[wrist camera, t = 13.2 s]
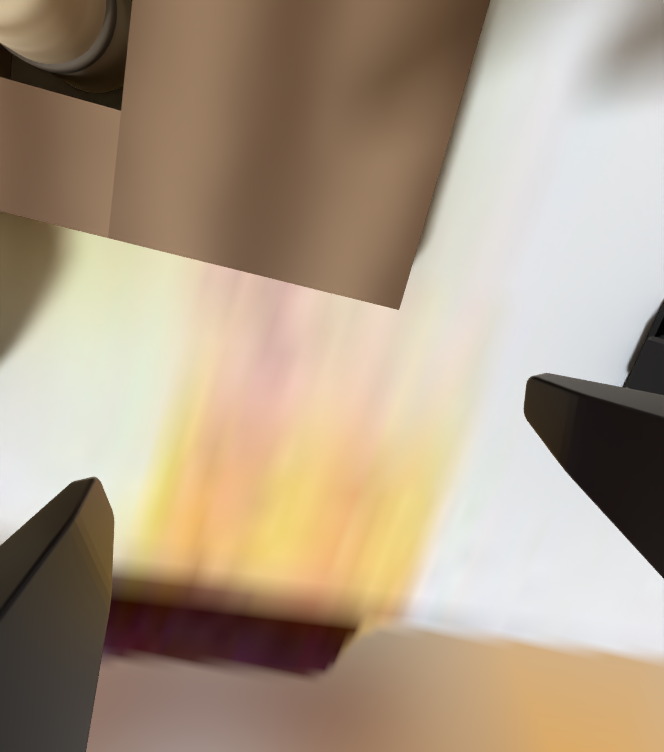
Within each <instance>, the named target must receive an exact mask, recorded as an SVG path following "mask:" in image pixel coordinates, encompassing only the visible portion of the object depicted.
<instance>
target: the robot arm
mask: <svg viewBox="0 0 664 752" xmlns="http://www.w3.org/2000/svg"><path fill="white" fill-rule="evenodd" d="M524 414H525V417H526V419H527V421H528V422H529V423H530V425H531V426H532V427H533V429H534V430H535V431H536V433H537V434H538V435H539V437H540V438H541V439H542V441H543V442H544V443H545V445H546V446H547V447H548V449H549V450H550V452H551V453H552V454H553V456H554V457H555V458H556V460H557V461H558V462H559V463H560V465H561V466H562V467H563V469H564V470H565V471H566V472H567V473H568V474H569V476H570V477H571V478H572V479H573V480H574V481H575V482H576V483H577V485H578V486H579V487H580V488H581V489H582V490H583V491H584V492H585V493H586V494H587V495H588V497H589V498H590V499H591V500H592V501H593V502H594V503H595V504H596V505H597V506H598V507H599V509H600V510H601V511H602V512H603V513H604V514H605V515H606V516H607V517H608V518H609V519H610V521H611V522H612V523H613V524H614V525H615V526H616V527H617V528H618V529H619V530H620V531H621V533H622V534H623V535H624V536H625V537H626V538H627V539H628V540H629V541H630V542H631V543H632V545H633V546H634V547H635V548H636V549H637V550H638V551H639V552H640V553H641V554H642V556H643V557H644V558H645V559H646V560H647V561H648V562H649V563H650V564H651V565H652V566H653V568H654V569H655V570H656V571H657V572H658V573H659V574H660V575H661V576H662V577H663V578H664V304H663V305H662V307H661V309H660V311H659V313H658V315H657V317H656V319H655V322H654V324H653V326H652V328H651V330H650V332H649V335H648V337H647V339H646V341H645V343H644V345H643V348H642V350H641V352H640V354H639V356H638V358H637V361H636V363H635V365H634V367H633V369H632V371H631V373H630V376H629V378H628V380H627V382H626V384H625V386H624V388H623V387H618V386H613V385H607V384H602V383H597V382H592V381H587V380H581V379H576V378H571V377H566V376H561V375H555V374H550V373H544V374H539V375H535V376H532V377H530V378H529V379H528V381H527V384H526V392H525V401H524ZM113 542H114V515H113V511H112V508H111V506H110V503H109V501H108V499H107V496H106V494H105V491H104V489H103V486H102V484H101V482H100V480H99V479H98V478H96V477H90V478H86V479H81V480H77V481H74V482H72V483H70V484H69V485H68V486H67V487H66V488H65V489H64V490H62V491H61V492H60V493H59V494H58V495H57V496H56V497H55V498H53V499H52V500H51V501H50V502H49V503H48V504H47V505H46V506H44V507H43V508H42V509H41V510H40V511H39V512H38V513H37V514H35V515H34V516H33V517H32V518H31V519H30V520H29V521H28V522H26V523H25V524H24V525H23V526H22V527H21V528H20V529H19V530H17V531H16V532H15V533H14V534H13V535H12V536H11V537H10V538H8V539H7V540H6V541H5V542H4V543H3V544H2V545H1V546H0V752H86V748H87V742H88V735H89V730H90V724H91V718H92V712H93V706H94V700H95V693H96V688H97V682H98V676H99V670H100V664H101V658H102V652H103V646H104V640H105V634H106V628H107V622H108V616H109V609H110V602H111V590H112V567H113Z"/></svg>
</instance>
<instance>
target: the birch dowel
mask: <svg viewBox="0 0 664 752" xmlns="http://www.w3.org/2000/svg"><path fill="white" fill-rule="evenodd" d="M131 9H132V3H131V1H130V0H0V43H1V44H2V45H3V46H4V47H5V48H6V49H7V50H8V51H10V52H11V53H12V54H14V55H15V56H17V57H18V58H20V59H22V60H23V61H25V62H27V63H29V64H30V65H32V66H34V67H36V68H38V69H41V70H44V71H47V72H49V73H51V74H53V75H54V76H56V77H58V78H59V79H61V80H63V81H64V82H66V83H68V84H69V85H71V86H73V87H75V88H77V89H79V90H82V91H86V92H90V93H105V92H109V91H112V90H115V89H117V88H119V87H120V86H122V85H123V84H124V77H125V68H126V58H127V48H128V38H129V29H130V19H131Z"/></svg>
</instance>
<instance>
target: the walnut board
mask: <svg viewBox="0 0 664 752" xmlns="http://www.w3.org/2000/svg"><path fill="white" fill-rule="evenodd" d="M489 3H490V0H132V9H131V19H130V29H129V38H128V48H127V58H126V68H125V77H124V87H123V97H122V107H121V111H120V110H116V109H113V108H109V107H106V106H102V105H99V104H95V103H91V102H88V101H84V100H81V99H77V98H74V97H70V96H66V95H63V94H59V93H56V92H52V91H49V90H45V89H41V88H38V87H34V86H31V85H27V84H24V83H20V82H16V81H13V80H10V77H11V52H10V51H8V50H7V49H6V48H5V47H4V46H3V45H2V44H1V43H0V211H1V212H5V213H9V214H13V215H17V216H21V217H25V218H29V219H34V220H38V221H42V222H46V223H50V224H54V225H58V226H62V227H66V228H70V229H74V230H78V231H82V232H86V233H90V234H94V235H98V236H102V237H106V238H110V239H114V240H118V241H122V242H127V243H131V244H135V245H139V246H143V247H147V248H151V249H155V250H159V251H163V252H167V253H171V254H175V255H179V256H183V257H187V258H191V259H195V260H199V261H203V262H207V263H211V264H216V265H220V266H224V267H228V268H232V269H236V270H240V271H244V272H248V273H252V274H256V275H260V276H264V277H268V278H272V279H276V280H280V281H284V282H288V283H292V284H296V285H300V286H304V287H309V288H313V289H317V290H321V291H325V292H329V293H333V294H337V295H341V296H345V297H349V298H353V299H357V300H361V301H365V302H369V303H373V304H377V305H381V306H385V307H389V308H393V309H397V310H399V308H400V305H401V301H402V298H403V295H404V291H405V288H406V284H407V281H408V278H409V274H410V271H411V267H412V264H413V261H414V257H415V254H416V250H417V247H418V244H419V240H420V237H421V234H422V230H423V227H424V223H425V220H426V217H427V213H428V210H429V206H430V203H431V200H432V196H433V193H434V189H435V186H436V183H437V179H438V176H439V172H440V169H441V166H442V162H443V159H444V155H445V152H446V149H447V145H448V142H449V138H450V135H451V132H452V128H453V125H454V122H455V118H456V115H457V111H458V108H459V105H460V101H461V98H462V94H463V91H464V88H465V84H466V81H467V77H468V74H469V71H470V67H471V64H472V60H473V57H474V54H475V50H476V47H477V43H478V40H479V37H480V33H481V30H482V26H483V23H484V20H485V16H486V13H487V10H488V6H489Z"/></svg>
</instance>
